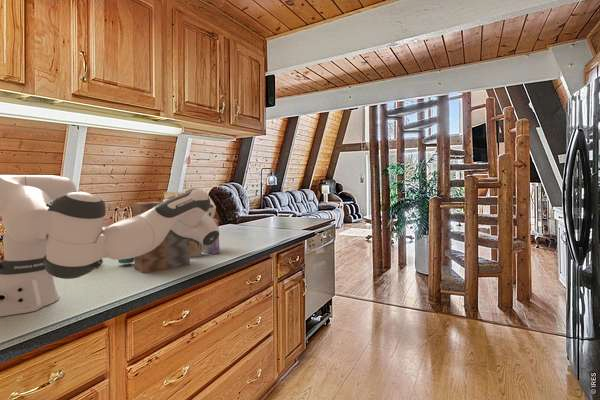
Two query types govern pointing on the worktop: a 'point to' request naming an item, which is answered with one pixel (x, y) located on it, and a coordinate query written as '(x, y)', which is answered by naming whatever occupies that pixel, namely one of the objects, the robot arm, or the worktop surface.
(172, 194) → the rod
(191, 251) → the coffee box
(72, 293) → the worktop surface
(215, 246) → the cake pan box
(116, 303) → the worktop surface
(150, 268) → the stepped stand
